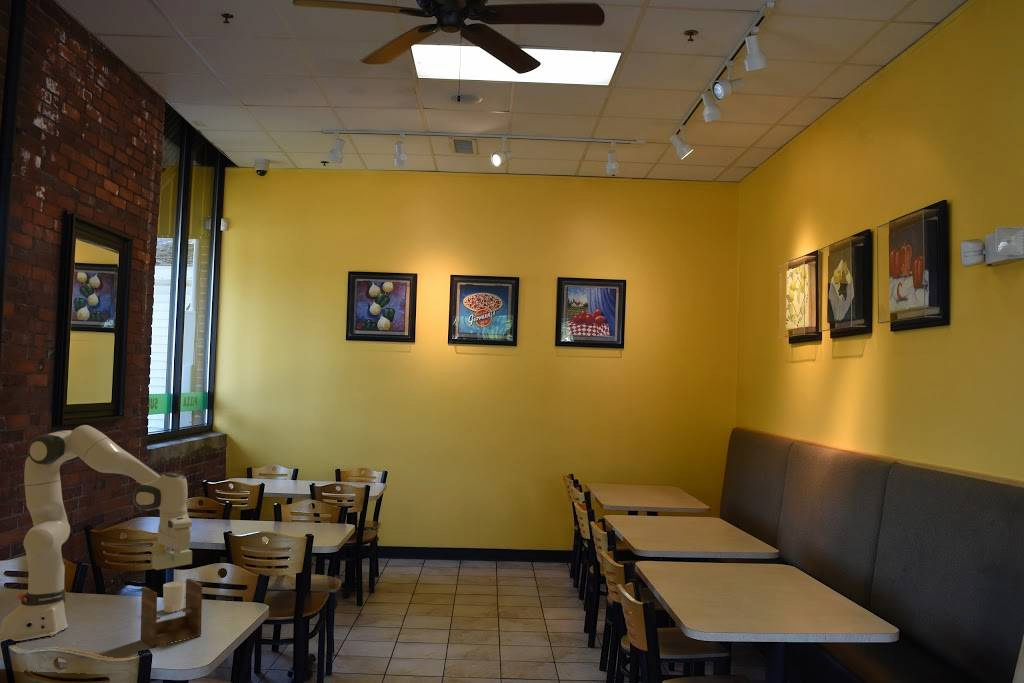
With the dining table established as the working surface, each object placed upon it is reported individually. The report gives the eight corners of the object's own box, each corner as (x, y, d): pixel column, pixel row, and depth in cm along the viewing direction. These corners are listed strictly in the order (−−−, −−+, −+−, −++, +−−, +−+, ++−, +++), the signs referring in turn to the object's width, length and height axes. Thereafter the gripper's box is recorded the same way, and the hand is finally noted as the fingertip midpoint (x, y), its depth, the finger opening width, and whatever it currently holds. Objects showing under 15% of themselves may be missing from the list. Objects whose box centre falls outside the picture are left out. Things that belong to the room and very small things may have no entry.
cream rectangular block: (156, 570, 258) (156, 556, 258) (152, 567, 261) (152, 554, 261) (191, 563, 266) (192, 550, 267) (187, 561, 269) (187, 549, 269)
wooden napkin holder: (152, 648, 253) (153, 593, 254) (140, 640, 261) (141, 587, 261) (201, 636, 264) (202, 584, 265) (188, 628, 272) (189, 578, 273)
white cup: (178, 605, 300) (179, 580, 300) (188, 609, 295) (189, 583, 295) (158, 610, 294) (159, 584, 294) (168, 614, 289) (169, 588, 289)
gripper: (153, 517, 269) (152, 556, 269) (175, 524, 255) (174, 566, 254) (171, 514, 274) (170, 553, 273) (194, 522, 259) (193, 563, 259)
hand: (172, 559), depth 264 cm, fingers closed on cream rectangular block, 4 cm apart
